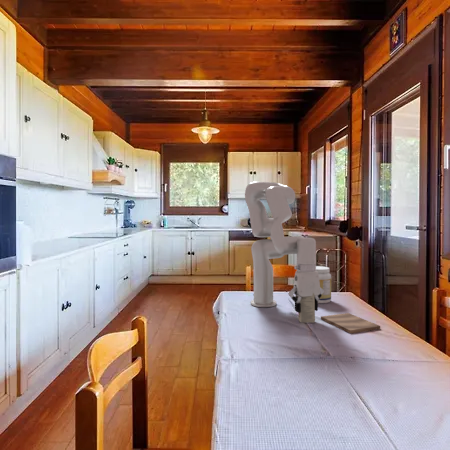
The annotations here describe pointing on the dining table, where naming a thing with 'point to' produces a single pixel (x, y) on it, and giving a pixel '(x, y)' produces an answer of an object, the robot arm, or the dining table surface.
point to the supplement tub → (324, 283)
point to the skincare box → (307, 310)
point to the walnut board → (350, 323)
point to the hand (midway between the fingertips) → (306, 310)
